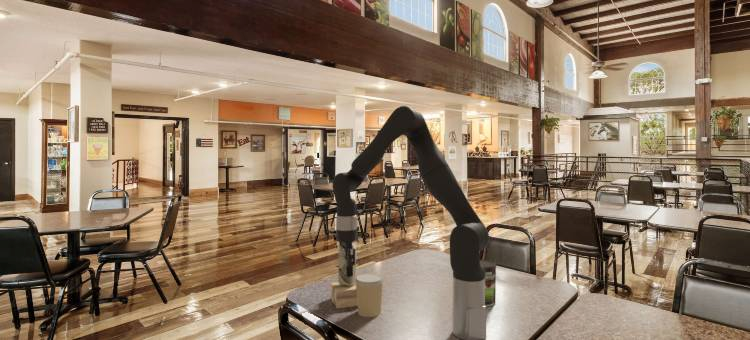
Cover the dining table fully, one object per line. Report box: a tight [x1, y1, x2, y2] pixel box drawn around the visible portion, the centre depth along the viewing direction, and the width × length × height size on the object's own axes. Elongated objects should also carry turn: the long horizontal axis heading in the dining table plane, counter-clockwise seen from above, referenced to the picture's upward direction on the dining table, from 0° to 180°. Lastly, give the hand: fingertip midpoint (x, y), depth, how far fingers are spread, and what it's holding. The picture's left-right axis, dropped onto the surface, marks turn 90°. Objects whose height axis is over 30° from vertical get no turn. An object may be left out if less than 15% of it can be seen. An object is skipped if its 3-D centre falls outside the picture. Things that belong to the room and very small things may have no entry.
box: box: [337, 247, 357, 286], centre depth 137 cm, size 5×4×13 cm
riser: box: [330, 281, 358, 310], centre depth 138 cm, size 10×10×6 cm
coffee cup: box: [355, 273, 384, 318], centre depth 128 cm, size 9×9×12 cm
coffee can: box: [480, 259, 497, 308], centre depth 137 cm, size 10×10×14 cm
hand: (347, 273), depth 138 cm, fingers closed on box, 6 cm apart
